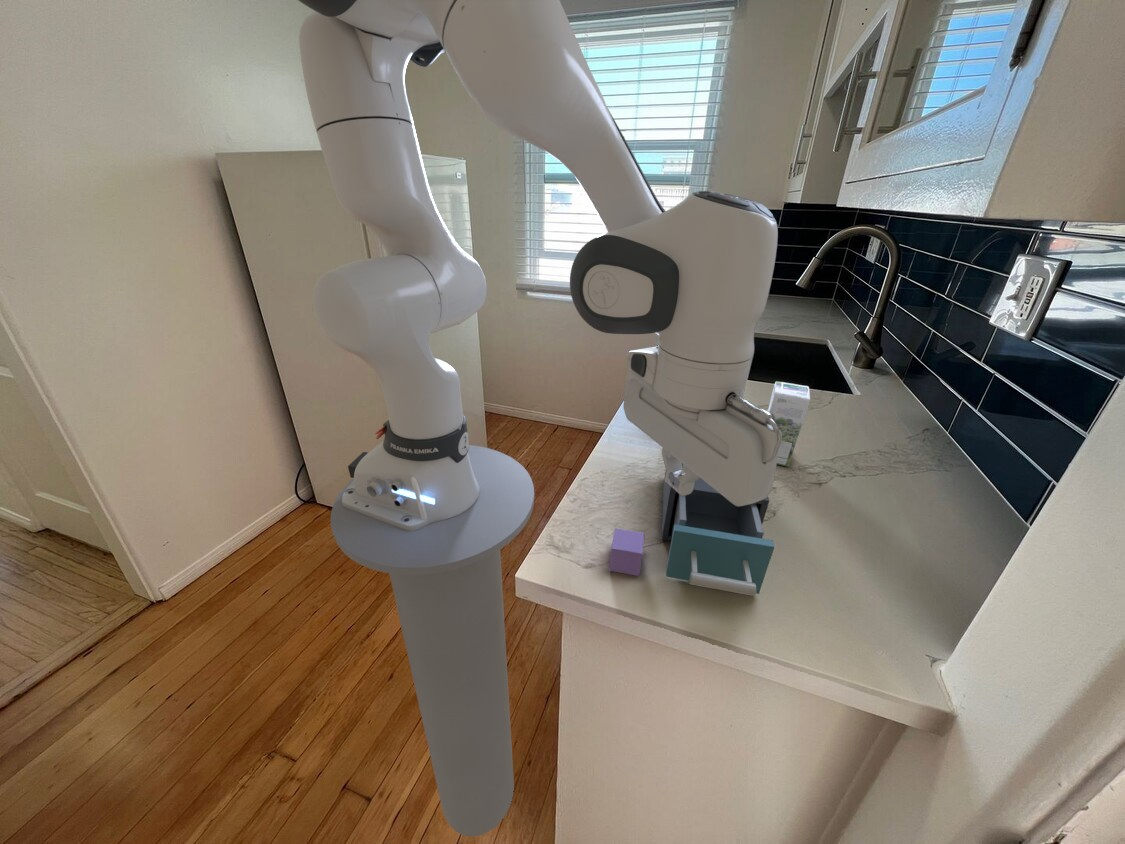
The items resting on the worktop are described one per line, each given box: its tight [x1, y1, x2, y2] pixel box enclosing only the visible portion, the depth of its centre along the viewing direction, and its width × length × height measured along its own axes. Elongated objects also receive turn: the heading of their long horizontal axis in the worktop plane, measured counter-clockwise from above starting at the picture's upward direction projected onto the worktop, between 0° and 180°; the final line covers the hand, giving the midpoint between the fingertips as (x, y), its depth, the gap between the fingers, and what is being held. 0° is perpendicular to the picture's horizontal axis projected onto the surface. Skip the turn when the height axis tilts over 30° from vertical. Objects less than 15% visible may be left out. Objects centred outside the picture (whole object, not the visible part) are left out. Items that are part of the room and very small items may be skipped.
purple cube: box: [608, 527, 645, 577], centre depth 59 cm, size 4×4×4 cm
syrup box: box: [766, 380, 811, 467], centre depth 81 cm, size 6×6×14 cm
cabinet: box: [661, 463, 770, 542], centre depth 67 cm, size 15×13×10 cm
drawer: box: [665, 492, 775, 597], centre depth 58 cm, size 18×11×8 cm, turn 167°
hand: (678, 487), depth 51 cm, fingers closed
